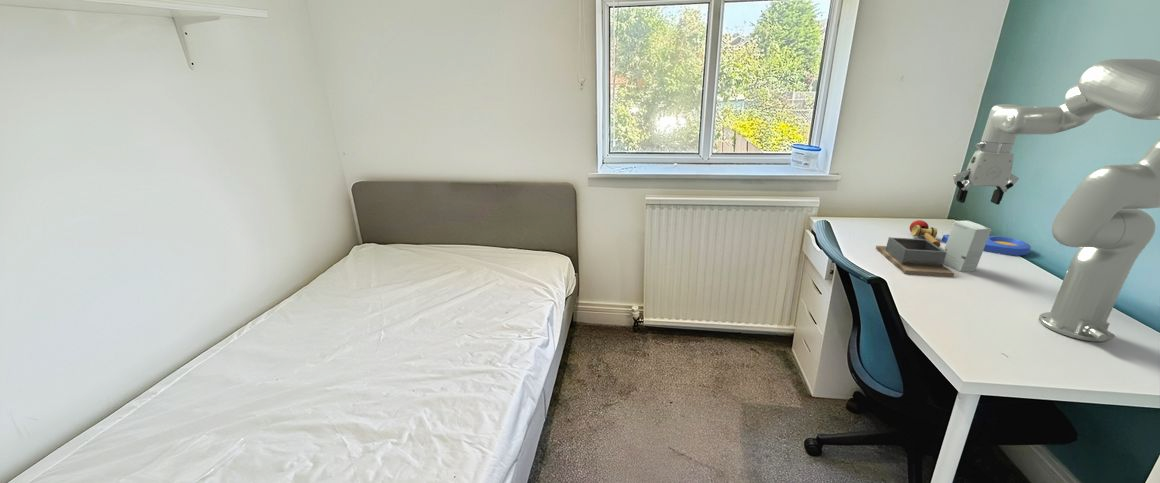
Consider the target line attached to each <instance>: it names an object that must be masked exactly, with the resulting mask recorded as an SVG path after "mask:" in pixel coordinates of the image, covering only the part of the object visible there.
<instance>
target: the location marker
mask: <svg viewBox="0 0 1160 483" xmlns="http://www.w3.org/2000/svg"><path fill="white" fill-rule="evenodd" d="M949 235H950V234H944V235H943V234H942V239H941V242H942V241H943V242H942V243H945V244H946V243H947V240H948V237H949ZM1025 242H1026V241H1024V240H1021V239H1017V238H1011V237H1008V236H1005V237H1004V236H999V235H989V237H988V240H987V242H986V245H985V247H984V250H983V252H985V253H986V252H987V253H992V254H998V253H1000V255H1005V254H1006V256H1015V257H1017V256H1026V255H1028V254H1030V251H1031V249H1032V246H1030V245H1031V244H1030V243H1028V242H1026V243H1025ZM1027 243H1028V244H1027ZM1029 244H1030V245H1029Z"/></svg>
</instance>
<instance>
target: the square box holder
mask: <svg viewBox="0 0 1160 483" xmlns="http://www.w3.org/2000/svg"><path fill="white" fill-rule="evenodd" d="M875 250H876V251H878V252H879V253H880V254H881V255H883V256H884V257H885V259H887V260H888V261H889V262H890V263H892V264H893V265H894V267H896V268H897V269H898V270H900V271H901V272H902V273H903V274H905V275H915V276H916V275H919V276H920V275H921V276H931V277H932V276H934V277H951V278H954V276H955V272H953V271H952V270H951V269H949V268H948V267H946V265H945V264H943V263H944V259H945V256H946V253H947V252H945V251H944V249H942V248H941V247H938V246H936V245H935V244H933V243H932V242H930V241H929V240H927V239H924V238H921V239H920V238H907V237H906V238H905V237H888V239H887V244H886V245H875Z"/></svg>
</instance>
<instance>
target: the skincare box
mask: <svg viewBox="0 0 1160 483" xmlns="http://www.w3.org/2000/svg"><path fill="white" fill-rule="evenodd" d="M991 232H992V228H989V227H986V226H985V225H982V224H979V223H977V222H974V221H970V220H954V221H953V224H952V227H951V230H950V231H949V234H948V235H949V237H948V240H947V243H945V245H944V248H943V250H944V251H945V252H947V253H946V256H945V259H944V263H943V265H944V266H948V267H950V268H952V269H955V270H956V271H958V272H975V271H977V267H978V264H979V263H980V260H981V257H982V255H983V252H984V251H983V250H984V247H985V245H986V242H987V240H988V237H989V236H991V235H990V234H991Z"/></svg>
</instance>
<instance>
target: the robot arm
mask: <svg viewBox="0 0 1160 483" xmlns="http://www.w3.org/2000/svg"><path fill="white" fill-rule="evenodd" d="M1109 110H1111V111H1114V112H1117V113H1119V114H1121V115H1125V116H1126V117H1129V118H1132V119H1137V120H1145V121H1146V120H1147V121H1160V60H1157V59H1151V58H1150V59H1149V58H1109V59H1105V60H1102V61H1099V62H1097V63H1095V64H1093V65H1091V66H1090V67H1089V68H1087V69H1086V70H1085V71H1083V73H1082V74H1081V76H1080V78H1079V80H1078V83H1077V84H1074V85H1072V86H1071V87H1070V88H1069V89H1067V90H1066V93H1065V95H1064V103H1062V104H1059V105H1056V106H1022V105H1018V104H1003V103H1002V104H995V105H993V106H992V108H991V109H990V111H989V114H988V117H987V120H986V124H985V128H984V130H983V134H982V136H981V139H980V140H979V142H976V143H975V145H974V147H975V148H977V150H975V152H974V153H973V155H972V157H971V158H970V160H969V162H968V164H967V167H966V169H965V170H962V171H960V172H958V173H955V174H953V175H952V177H953V180H954V184H955V186H956V187H957V189H958V191H957V193H956V202H959V203H961V204H964V203H965V202H966V199H967V196H968V193H969V191H968V189H969V188H970V187H972V186H977V187H995V188H996V189H994V190H993V192H992V196H991V199H990V202H991V203H993V204H995V205H1000V204H1001V201H1002V199H1003V196H1004V194H1005V193H1006V192H1008V190H1009V189H1011V188H1013V186H1014V184H1016V183H1017V182H1018V181H1019V180H1020V178H1019V177H1018V176H1017V175H1015V174H1013V173H1012V168H1013V165H1014V153H1012V149H1013V147H1014V145H1015V144H1014V143H1015V141H1016V138H1017V135H1022V136H1023V135H1026V136H1027V135H1028V136H1029V135H1040V136H1041V135H1054V134H1059V133H1062V132H1066V131H1069V130H1071V129H1074V128H1077V127H1080V126H1082V125H1083V126H1084V125H1086V123H1088V122H1089V121H1090V120H1091V119H1093V117H1094V116H1095V115H1098V114H1100V113H1104V112H1106V111H1109ZM962 178H963V181H962ZM1159 208H1160V138H1158V139H1157V141H1155V142H1154V143H1153V144H1152V145H1151V146H1150V148H1149V149H1148V151H1147V152H1146V153H1145V154H1144V155H1143V156H1142V157H1141V159H1140V160H1138V161H1137V162H1135V163H1132V164H1112V165H1105V166H1103V167H1099V168H1098V169H1096V170H1094V171H1091V172H1090V173H1089V174H1087V175H1086V176H1085V177H1084V178H1083V179H1082V181H1081V182H1080V183H1079V185H1078V186H1076V188H1075V190H1074V191H1073V192H1072V194H1071V195H1070V196H1069V198H1068V199H1067V200H1066V201H1065V203H1064V204H1063V206H1062V207H1061V208H1060V209H1059V211H1058V212H1057V213H1056V216H1055V217H1054V219H1053V221H1052V225H1051V233H1052V236H1053V238H1054V239H1055V241H1057V242H1058V243H1059V244H1061V245H1063V246H1065V247H1071V248H1078V250H1077V251H1076V252H1075V254H1074V256H1073V257H1072V259H1071V261H1070V264H1069V265H1068V267H1067V270H1066V273H1065V276H1064V278H1063V280H1062V283H1061V285H1060V287H1059V290H1058V293H1057V295H1056V298H1055V300H1054V302H1053V305H1052V307H1051V309H1050V312H1049V311H1047V312H1042V313H1040V315H1039V317H1038V320H1039V322H1040V324H1042V325H1043V326H1044V327H1046V328H1048V329H1049V330H1051V331H1054V332H1055V333H1059V334H1060V335H1062V336H1063V335H1064V336H1066V337H1070V338H1074V339H1078V340H1082V341H1089V342H1106V341H1109V340H1112V339H1114V338H1115V334H1114V333H1113V332H1111V331H1109V326H1110V324H1111V323H1110V322H1108V318H1110V315H1111V312H1112V311H1113V308H1114V306H1115V304H1116V302H1117V299H1118V297H1119V296H1120V293H1121V292H1122V288H1123V287H1124V284H1125V282H1126V281H1127V278H1128V276H1129V274H1130V272H1131V270H1132V268H1133V265H1134V264H1135V262H1136V260H1137V259H1138V258H1139V256H1140V254H1141V253H1142V252H1143V250H1145V248H1147V245H1148V244H1149V243H1150V242H1151V240H1152V239H1153V237H1154V236H1155V233H1156V222H1155V220H1154V219H1153V217H1152V216H1151V215H1150V214H1149V213H1147V212H1146V211H1145V210H1146V209H1147V210H1148V209H1159ZM1142 209H1143V210H1142ZM1144 209H1145V210H1144Z"/></svg>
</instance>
